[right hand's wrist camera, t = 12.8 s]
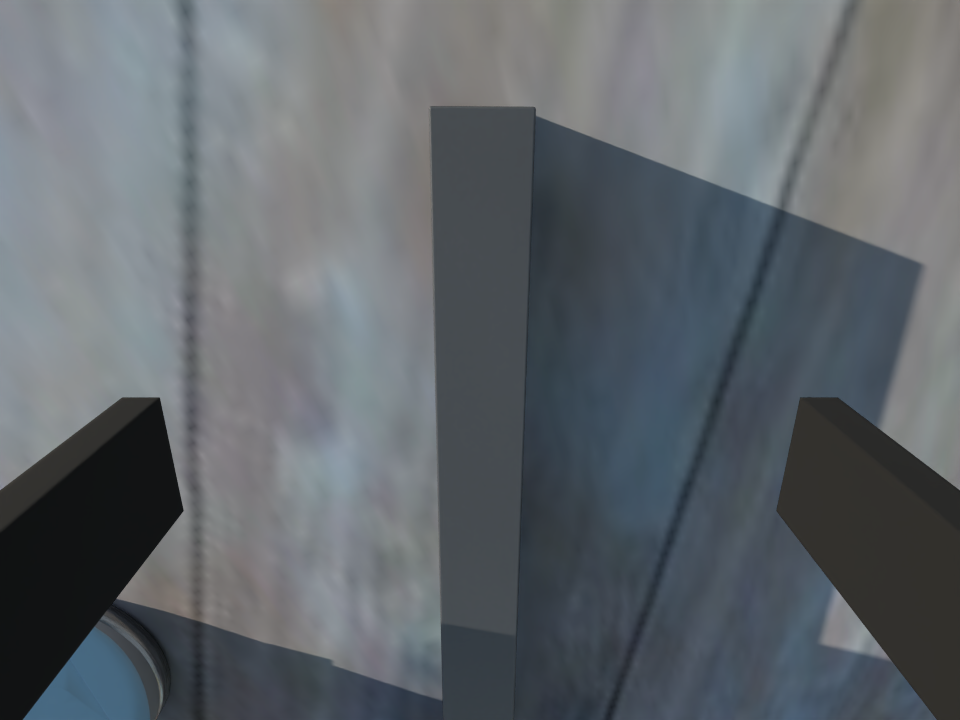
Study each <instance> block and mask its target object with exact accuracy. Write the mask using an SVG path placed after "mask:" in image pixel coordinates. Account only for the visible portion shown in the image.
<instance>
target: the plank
mask: <svg viewBox="0 0 960 720" xmlns="http://www.w3.org/2000/svg"><path fill="white" fill-rule="evenodd" d="M535 117H536V109H535V107H472V106H431V107H429V134H430V177H431V220H432V263H433V306H434V350H435V393H436V436H437V479H438V522H439V565H440V608H441V651H442V694H443V720H514V702H515V674H516V646H517V618H518V590H519V562H520V535H521V507H522V479H523V451H524V423H525V395H526V368H527V340H528V312H529V284H530V256H531V229H532V201H533V173H534V145H535Z"/></svg>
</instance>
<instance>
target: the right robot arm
mask: <svg viewBox="0 0 960 720" xmlns="http://www.w3.org/2000/svg"><path fill="white" fill-rule="evenodd" d="M776 511H777V512H778V514H779V515H780V516H781V517H782V519H783V520H784V521H785V523H786V524H787V525H788V527H789V528H790V529H791V530H792V532H793V533H794V534H795V536H796V537H797V538H798V540H799V541H800V542H801V543H802V545H803V546H804V547H805V549H806V550H807V551H808V553H809V554H810V555H811V556H812V558H813V559H814V560H815V562H816V563H817V564H818V566H819V567H820V568H821V569H822V571H823V572H824V573H825V575H826V576H827V577H828V579H829V580H830V581H831V582H832V584H833V585H834V586H835V588H836V589H837V590H838V592H839V593H840V594H841V595H842V597H843V598H844V599H845V601H846V602H847V603H848V605H849V606H850V607H851V608H852V610H853V611H854V612H855V614H856V615H857V616H858V618H859V619H860V620H861V621H862V623H863V624H864V625H865V627H866V628H867V629H868V631H869V632H870V633H871V634H872V636H873V637H874V638H875V640H876V641H877V642H878V644H879V645H880V646H881V647H882V649H883V650H884V651H885V653H886V654H887V655H888V657H889V658H890V659H891V660H892V662H893V663H894V664H895V666H896V667H897V668H898V670H899V671H900V672H901V673H902V675H903V676H904V677H905V679H906V680H907V681H908V683H909V684H910V685H911V686H912V688H913V689H914V690H915V692H916V693H917V694H918V696H919V697H920V698H921V699H922V701H923V702H924V703H925V705H926V706H927V707H928V709H929V710H930V711H931V712H932V714H933V715H934V716H935V718H936V719H937V720H960V490H959V489H957V488H956V487H955V486H953V485H952V484H951V483H949V482H948V481H947V480H945V479H944V478H943V477H941V476H940V475H939V474H937V473H936V472H935V471H934V470H932V469H931V468H930V467H928V466H927V465H926V464H924V463H923V462H922V461H920V460H919V459H918V458H916V457H915V456H914V455H913V454H911V453H910V452H909V451H907V450H906V449H905V448H903V447H902V446H901V445H899V444H898V443H897V442H895V441H894V440H893V439H891V438H890V437H889V436H888V435H886V434H885V433H884V432H882V431H881V430H880V429H878V428H877V427H876V426H874V425H873V424H872V423H870V422H869V421H868V420H867V419H865V418H864V417H863V416H861V415H860V414H859V413H857V412H856V411H855V410H853V409H852V408H851V407H849V406H848V405H847V404H845V403H844V402H843V401H842V400H840V399H839V398H800V401H799V406H798V411H797V416H796V420H795V425H794V430H793V435H792V439H791V444H790V449H789V454H788V458H787V463H786V468H785V473H784V477H783V482H782V487H781V492H780V496H779V501H778V506H777V510H776ZM182 512H183V506H182V501H181V496H180V492H179V487H178V482H177V477H176V473H175V468H174V463H173V458H172V454H171V449H170V444H169V439H168V435H167V430H166V425H165V420H164V416H163V411H162V406H161V401H160V398H121V399H120V400H118V401H117V402H116V403H115V404H113V405H112V406H111V407H109V408H108V409H107V410H105V411H104V412H103V413H101V414H100V415H99V416H97V417H96V418H95V419H94V420H92V421H91V422H90V423H88V424H87V425H86V426H84V427H83V428H82V429H80V430H79V431H78V432H76V433H75V434H74V435H72V436H71V437H70V438H69V439H67V440H66V441H65V442H63V443H62V444H61V445H59V446H58V447H57V448H55V449H54V450H53V451H51V452H50V453H49V454H47V455H46V456H45V457H44V458H42V459H41V460H40V461H38V462H37V463H36V464H34V465H33V466H32V467H30V468H29V469H28V470H26V471H25V472H24V473H23V474H21V475H20V476H19V477H17V478H16V479H15V480H13V481H12V482H11V483H9V484H8V485H7V486H5V487H4V488H3V489H1V490H0V720H23V719H24V718H25V716H26V715H27V714H28V712H29V711H30V710H31V709H32V707H33V706H34V705H35V703H36V702H37V701H38V699H39V698H40V697H41V696H42V694H43V693H44V692H45V690H46V689H47V688H48V686H49V685H50V684H51V683H52V681H53V680H54V679H55V677H56V676H57V675H58V673H59V672H60V671H61V670H62V668H63V667H64V666H65V664H66V663H67V662H68V660H69V659H70V658H71V657H72V655H73V654H74V653H75V651H76V650H77V649H78V647H79V646H80V645H81V644H82V642H83V641H84V640H85V638H86V637H87V636H88V634H89V633H90V632H91V631H92V629H93V628H94V627H95V625H96V624H97V623H98V621H99V620H100V619H101V618H102V616H103V615H104V614H105V612H106V611H107V610H108V608H109V607H110V606H111V605H112V603H113V602H114V601H115V599H116V598H117V597H118V595H119V594H120V593H121V592H122V590H123V589H124V588H125V586H126V585H127V584H128V582H129V581H130V580H131V579H132V577H133V576H134V575H135V573H136V572H137V571H138V569H139V568H140V567H141V566H142V564H143V563H144V562H145V560H146V559H147V558H148V556H149V555H150V554H151V553H152V551H153V550H154V549H155V547H156V546H157V545H158V543H159V542H160V541H161V540H162V538H163V537H164V536H165V534H166V533H167V532H168V530H169V529H170V528H171V527H172V525H173V524H174V523H175V521H176V520H177V519H178V517H179V516H180V515H181V514H182Z"/></svg>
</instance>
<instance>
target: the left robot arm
mask: <svg viewBox="0 0 960 720" xmlns="http://www.w3.org/2000/svg"><path fill="white" fill-rule="evenodd" d="M169 690H170V672H169V668H168V664H167V661H166V659H165V656H164V654H163V652H162V650H161V649H160V647H159V645H158V644H157V642H156V641H155V640H154V638H153V637H152V636H151V635H150V634H149V633H148V632H147V631H146V630H145V629H144V628H143V627H142V626H141V625H140V624H139V623H138V622H137V621H135V620H134V619H133V618H131V617H130V616H129V615H127V614H126V613H124V612H123V611H121V610H119V609H118V608H116V607H114V606H112V605H111V606H110V607H109V608H108V610H107V611H106V612H105V614H104V615H103V616H102V618H101V619H100V620H99V621H98V623H97V624H96V625H95V627H94V628H93V629H92V631H91V632H90V633H89V634H88V636H87V637H86V638H85V640H84V641H83V642H82V644H81V645H80V646H79V647H78V649H77V650H76V651H75V653H74V654H73V655H72V657H71V658H70V659H69V660H68V662H67V663H66V664H65V666H64V667H63V668H62V670H61V671H60V672H59V673H58V675H57V676H56V677H55V679H54V680H53V681H52V683H51V684H50V685H49V686H48V688H47V689H46V690H45V692H44V693H43V694H42V696H41V697H40V698H39V699H38V701H37V702H36V703H35V705H34V706H33V707H32V709H31V710H30V711H29V712H28V714H27V715H26V716H25V718H24V719H23V720H156V719H157V717H158V715H159V713H160V712H161V710H162V708H163V706H164V704H165V702H166V700H167V698H168V694H169Z"/></svg>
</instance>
